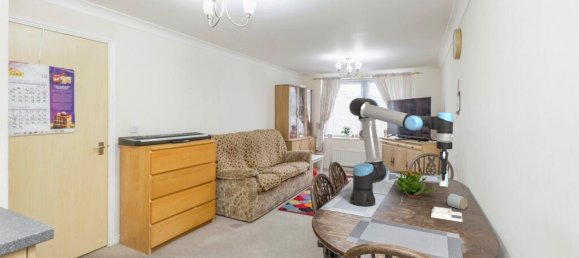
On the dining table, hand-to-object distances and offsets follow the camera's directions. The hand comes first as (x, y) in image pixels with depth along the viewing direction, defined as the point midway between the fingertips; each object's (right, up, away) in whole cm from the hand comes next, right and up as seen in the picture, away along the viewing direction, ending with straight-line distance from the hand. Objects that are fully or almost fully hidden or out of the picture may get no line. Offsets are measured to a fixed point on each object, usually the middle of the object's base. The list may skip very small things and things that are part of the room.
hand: (443, 185), depth 156 cm
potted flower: (0, -15, +37) cm, 40 cm away
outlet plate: (+1, -16, -1) cm, 16 cm away
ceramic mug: (+16, -16, +14) cm, 27 cm away
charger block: (0, 0, 0) cm, 0 cm away
